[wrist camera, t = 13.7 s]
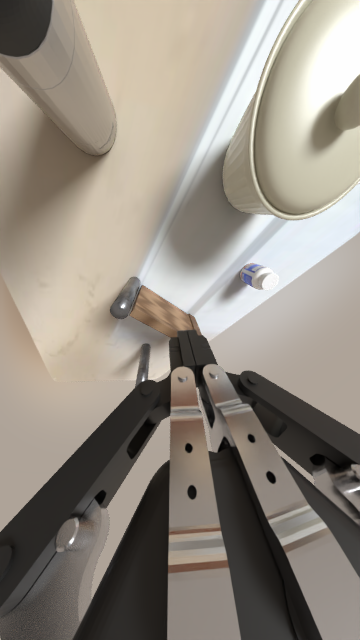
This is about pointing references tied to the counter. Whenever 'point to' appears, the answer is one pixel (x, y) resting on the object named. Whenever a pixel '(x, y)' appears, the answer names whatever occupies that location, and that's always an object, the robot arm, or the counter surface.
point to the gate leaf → (161, 314)
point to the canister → (301, 118)
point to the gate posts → (121, 312)
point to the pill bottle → (259, 276)
